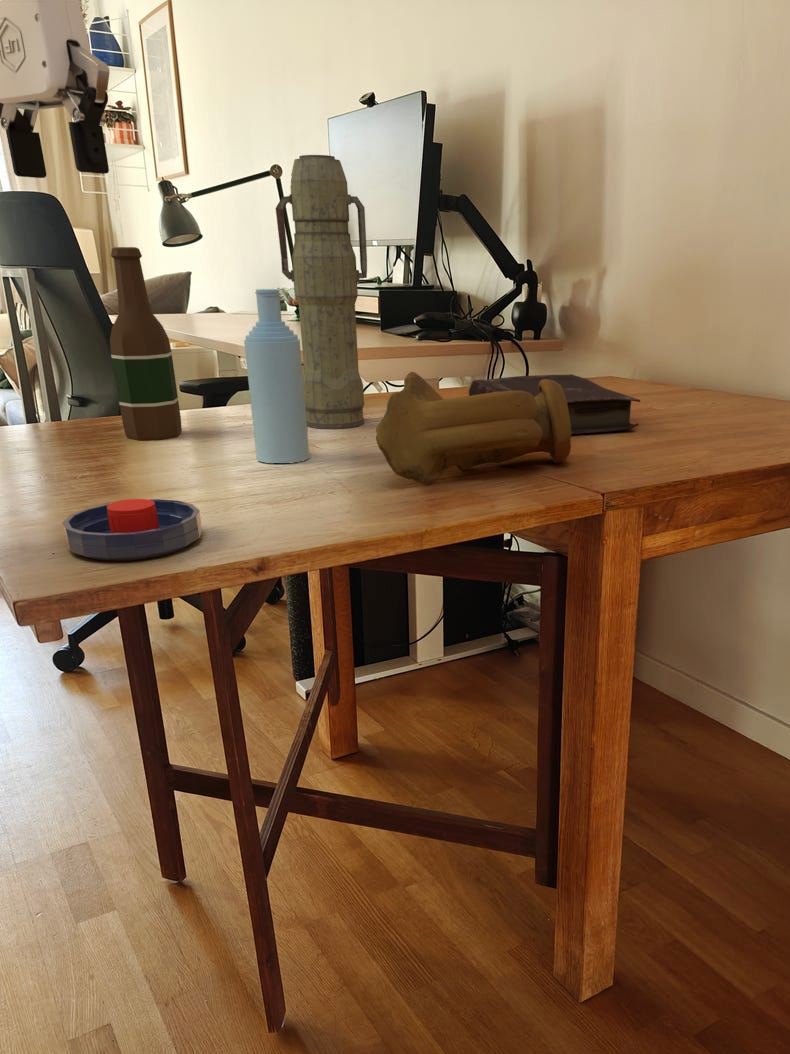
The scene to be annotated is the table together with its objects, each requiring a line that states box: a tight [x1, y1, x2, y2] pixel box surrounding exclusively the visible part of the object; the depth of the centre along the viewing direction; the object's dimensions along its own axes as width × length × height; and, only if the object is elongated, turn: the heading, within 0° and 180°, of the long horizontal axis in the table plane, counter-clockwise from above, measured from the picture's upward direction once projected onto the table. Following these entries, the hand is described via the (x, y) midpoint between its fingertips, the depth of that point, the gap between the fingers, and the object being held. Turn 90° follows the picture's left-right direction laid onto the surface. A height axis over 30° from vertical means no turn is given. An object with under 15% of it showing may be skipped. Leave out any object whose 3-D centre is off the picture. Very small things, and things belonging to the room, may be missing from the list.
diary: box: [468, 373, 641, 435], centre depth 130 cm, size 19×25×5 cm
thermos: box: [275, 154, 368, 430], centre depth 122 cm, size 9×12×35 cm
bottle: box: [243, 288, 310, 463], centre depth 103 cm, size 6×6×20 cm
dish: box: [61, 498, 203, 562], centre depth 75 cm, size 11×11×2 cm
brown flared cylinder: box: [375, 371, 572, 485], centre depth 98 cm, size 18×13×22 cm
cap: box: [107, 498, 159, 533], centre depth 75 cm, size 4×4×3 cm
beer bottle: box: [109, 246, 183, 441], centre depth 116 cm, size 8×8×24 cm
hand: (61, 174), depth 84 cm, fingers open, 9 cm apart
